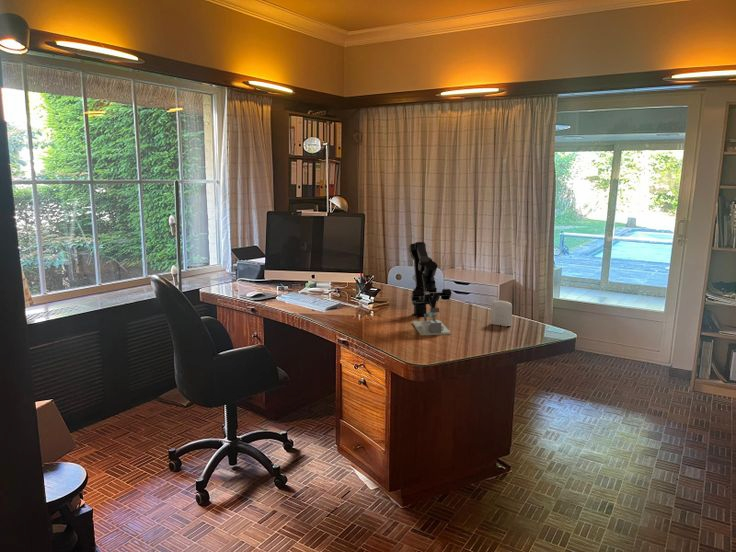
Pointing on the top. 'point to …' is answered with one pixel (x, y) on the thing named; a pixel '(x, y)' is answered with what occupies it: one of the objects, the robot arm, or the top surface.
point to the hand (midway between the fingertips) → (433, 310)
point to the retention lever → (432, 312)
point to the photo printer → (501, 313)
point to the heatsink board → (431, 327)
